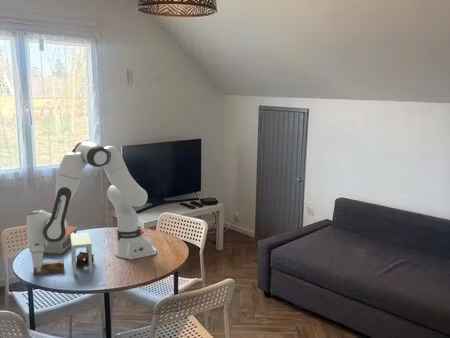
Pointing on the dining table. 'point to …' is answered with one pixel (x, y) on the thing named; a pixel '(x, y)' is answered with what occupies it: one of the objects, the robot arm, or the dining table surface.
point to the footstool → (79, 242)
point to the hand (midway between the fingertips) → (39, 269)
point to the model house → (60, 243)
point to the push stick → (51, 267)
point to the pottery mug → (81, 261)
